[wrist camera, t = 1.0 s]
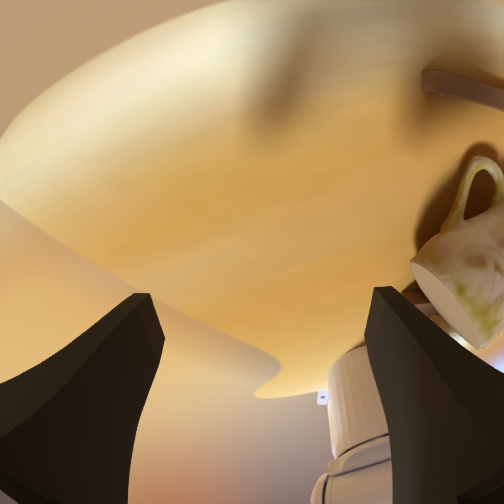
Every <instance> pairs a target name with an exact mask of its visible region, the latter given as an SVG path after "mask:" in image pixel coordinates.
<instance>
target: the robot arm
mask: <svg viewBox="0 0 504 504" xmlns="http://www.w3.org/2000/svg"><path fill="white" fill-rule="evenodd" d="M364 336H365V341H366V345H364V346H361V347H358V348H356V349H354V350H351V351H349V352H348V353H346V354H344V355H343V356H341V357H340V358H339V359H337V360H336V361H335V362H334V363H333V364H332V366H331V367H330V369H329V371H328V373H327V385H328V389H327V390H322V391H318V395H317V404H319V405H326V404H327V407H328V416H329V426H330V436H331V447H332V453H333V456H334V458H335V459H334V460H331V461H328V473H325V474H323V475H322V476H321V477H320V478H319V480H318V481H317V484H316V485H315V487H314V489H313V492H312V496H311V504H504V373H502V372H500V371H499V370H497V369H495V368H494V367H492V366H490V365H489V364H487V363H486V362H484V361H483V360H481V359H480V358H478V357H477V356H476V355H474V354H473V353H471V352H470V351H468V350H467V349H466V348H464V347H463V346H462V345H460V344H459V343H458V342H457V341H455V340H454V339H453V338H452V337H450V336H449V335H448V334H447V333H446V332H444V331H443V330H442V329H441V328H440V327H438V326H437V325H436V324H435V323H434V322H433V321H431V320H430V319H429V318H428V317H427V316H426V315H425V314H423V313H422V312H421V311H420V310H419V309H418V308H417V307H416V306H414V305H413V304H412V303H411V302H410V301H409V300H408V299H406V298H405V297H404V296H403V295H402V294H401V293H399V292H398V291H397V290H396V289H395V288H393V287H392V286H386V287H374V290H373V296H372V301H371V306H370V311H369V316H368V320H367V325H366V329H365V334H364ZM164 341H165V336H164V334H163V331H162V328H161V325H160V322H159V320H158V317H157V314H156V311H155V308H154V305H153V302H152V298H151V295H150V293H134V294H132V295H131V296H129V297H128V298H126V299H125V300H124V301H122V302H121V303H120V304H119V305H117V306H116V307H115V308H114V309H112V310H111V311H110V312H109V313H108V314H106V315H105V316H104V317H102V318H101V319H100V320H99V321H98V322H96V323H95V324H94V325H93V326H91V327H90V328H89V329H88V330H86V331H85V332H84V333H82V334H81V335H80V336H78V337H77V338H76V339H75V340H73V341H72V342H71V343H69V344H68V345H67V346H65V347H64V348H63V349H61V350H60V351H58V352H57V353H55V354H54V355H52V356H51V357H49V358H48V359H46V360H45V361H43V362H41V363H40V364H38V365H37V366H34V367H33V368H31V369H29V370H27V371H25V372H23V373H22V374H20V375H18V376H16V377H14V378H12V379H10V380H8V381H6V382H3V383H1V384H0V504H128V485H129V473H130V465H131V458H132V452H133V445H134V440H135V435H136V431H137V426H138V423H139V419H140V416H141V413H142V410H143V407H144V405H145V402H146V399H147V396H148V393H149V391H150V388H151V385H152V383H153V380H154V377H155V374H156V371H157V369H158V366H159V363H160V359H161V355H162V350H163V345H164Z"/></svg>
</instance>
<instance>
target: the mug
mask: <svg viewBox="0 0 504 504" xmlns="http://www.w3.org/2000/svg"><path fill="white" fill-rule="evenodd" d="M481 169H485V170H487V171H488V172H489V173H490V175H491V176H492V177H493V179H494V181H495V191H494V194H493V196H492V200H491V206H490V208H489V209H488V210H486V211H485V212H484V213H482V214H480V215H478V216H475V217H473V218H470V219H468V220H464V218H463V215H464V210H465V207H466V202H467V198H468V194H469V190H470V187H471V183H472V180H473V178H474V176H475V174H476V173H477V172H478V171H479V170H481ZM409 264H410V267H411V271H412V273H413V275H414V277H415V279H416V281H417V283H418V285H419V287H420V288H421V290H422V291H423V293H424V294H425V295H426V297H427V298H428V300H429V301H430V302H431V303H432V305H433V306H434V307H435V309H436V310H437V311H438V312H439V313H440V315H441V316H442V317H443V318H444V319H445V321H446V322H447V323H448V324H449V325H450V327H451V328H452V329H453V330H454V331H455V332H457V333H458V334H459V335H460V336H461V337H462V338H463V339H464V340H466V341H467V342H468V343H469V344H470V345H472V346H473V347H475V348H476V349H482V348H484V347H485V346H486V345H488V344H489V343H490V342H491V341H492V340H494V339H495V338H496V337H497V336H498V335H499V333H500V332H501V331H502V329H503V328H504V175H503V173H502V171H501V169H500V167H499V166H498V164H497V163H496V162H494V161H493V160H491V159H490V158H487V157H478V158H476V159H475V160H473V161H472V162H471V163H470V164H469V165H468V167H467V168H466V170H465V172H464V174H463V177H462V179H461V182H460V186H459V189H458V193H457V196H456V199H455V202H454V204H453V207H452V209H451V211H450V213H449V214H448V216H447V218H446V219H445V221H444V222H443V224H442V226H441V229H440V232H439V233H438V234H436V235H435V236H434V237H432V238H431V239H430V240H429V241H427V242H426V243H425V244H424V246H423V247H422V248H421V249H420V250H419V252H418V253H417V254H416V256H414V257H413V258H412V259H411V260H410V262H409Z"/></svg>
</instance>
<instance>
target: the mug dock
mask: <svg viewBox="0 0 504 504" xmlns="http://www.w3.org/2000/svg"><path fill="white" fill-rule="evenodd" d="M422 85H423V91H424V92H429V93H434V94H439V95H444V96H449V97H453V98H457V99H462V100H466V101H470V102H473V103H477V104H481V105H484V106H488V107H491V108H494V109H497V110H500V111H503V112H504V90H501V89H498V88H496V87H493V86H490V85H487V84H484V83H481V82H478V81H475V80H472V79H469V78H465V77H462V76H458V75H455V74H451V73H447V72H443V71H439V70H427V71H422ZM401 294H402V295H403V296H404V297H405V298H406V299H408V300H409V301H410V302H411V303H412V304H413V305H414V306H416V307H417V308H418V309H419V310H420V311H421V312H422V313H423V314H425V315H426V316H427V317H428V316H435V315H440V313H439V312H438V311H437V310H436V309H435V307H434V306H433V305H432V303H431V302H430V301H429V300H428V298H427V297H426V295H425V294H424V293H423V291H422V290H419V291H408V292H401Z"/></svg>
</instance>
